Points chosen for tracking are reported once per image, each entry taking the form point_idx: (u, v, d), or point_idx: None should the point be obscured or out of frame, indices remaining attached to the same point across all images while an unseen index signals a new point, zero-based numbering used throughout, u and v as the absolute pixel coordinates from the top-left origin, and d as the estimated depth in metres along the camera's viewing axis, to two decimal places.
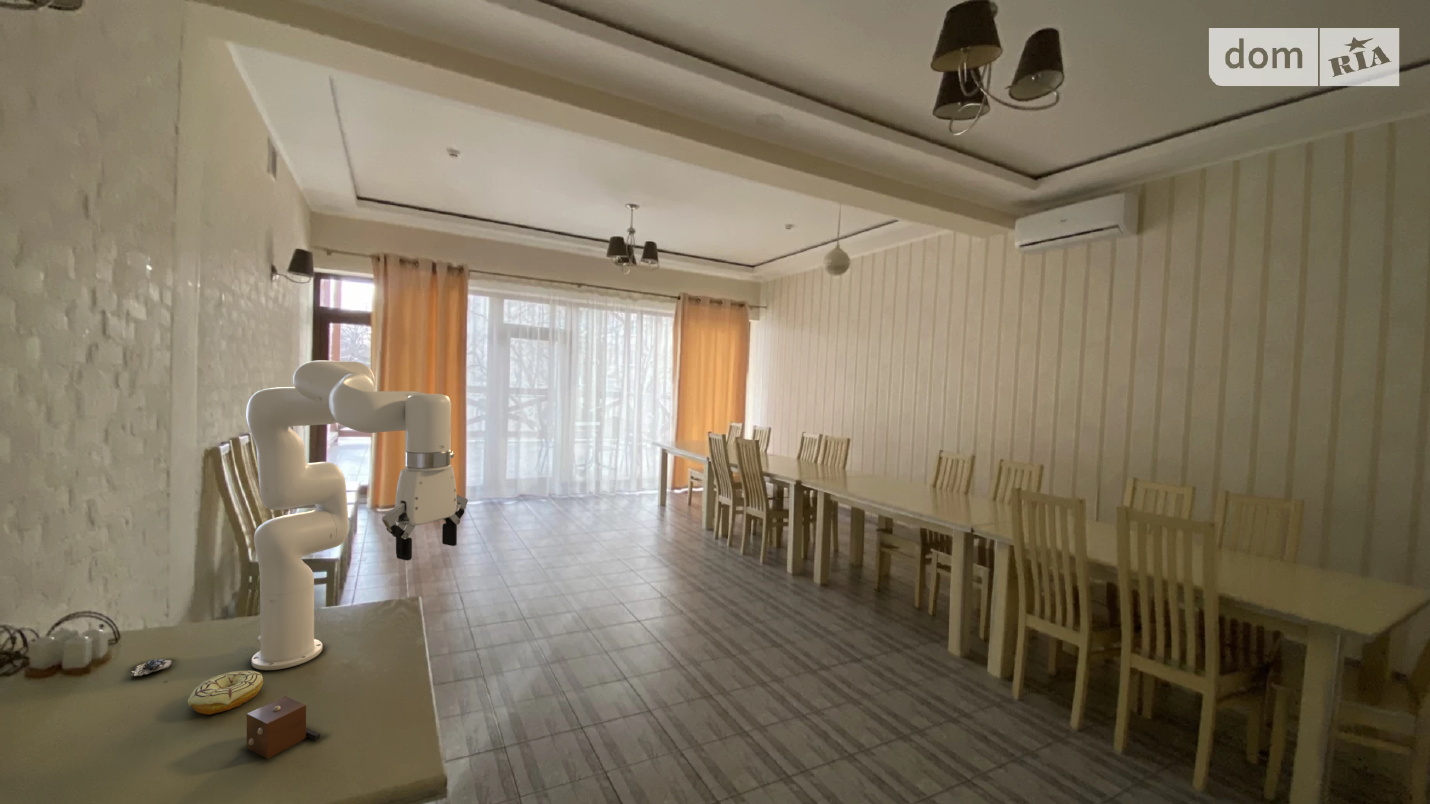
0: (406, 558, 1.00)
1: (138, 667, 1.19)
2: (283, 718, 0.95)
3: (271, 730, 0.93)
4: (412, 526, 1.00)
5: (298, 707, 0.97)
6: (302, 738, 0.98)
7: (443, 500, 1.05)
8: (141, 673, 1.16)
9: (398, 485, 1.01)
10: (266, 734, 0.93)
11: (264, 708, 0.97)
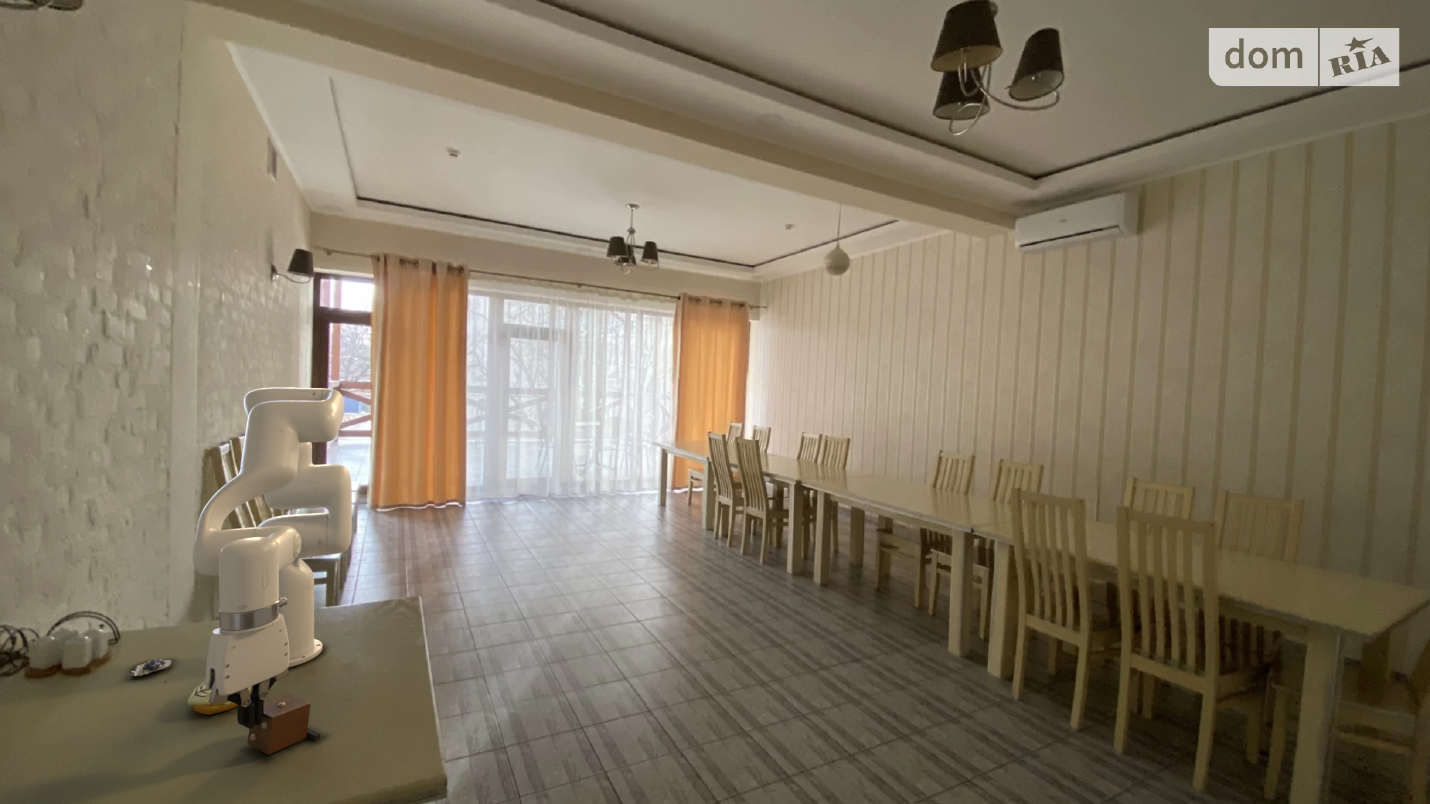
0: (248, 726, 0.92)
1: (138, 667, 1.19)
2: (288, 714, 0.95)
3: (275, 725, 0.94)
4: (245, 692, 0.91)
5: (303, 704, 0.98)
6: (303, 737, 0.98)
7: (268, 659, 0.93)
8: (141, 673, 1.16)
9: (209, 649, 0.89)
10: (270, 729, 0.93)
11: (269, 704, 0.97)
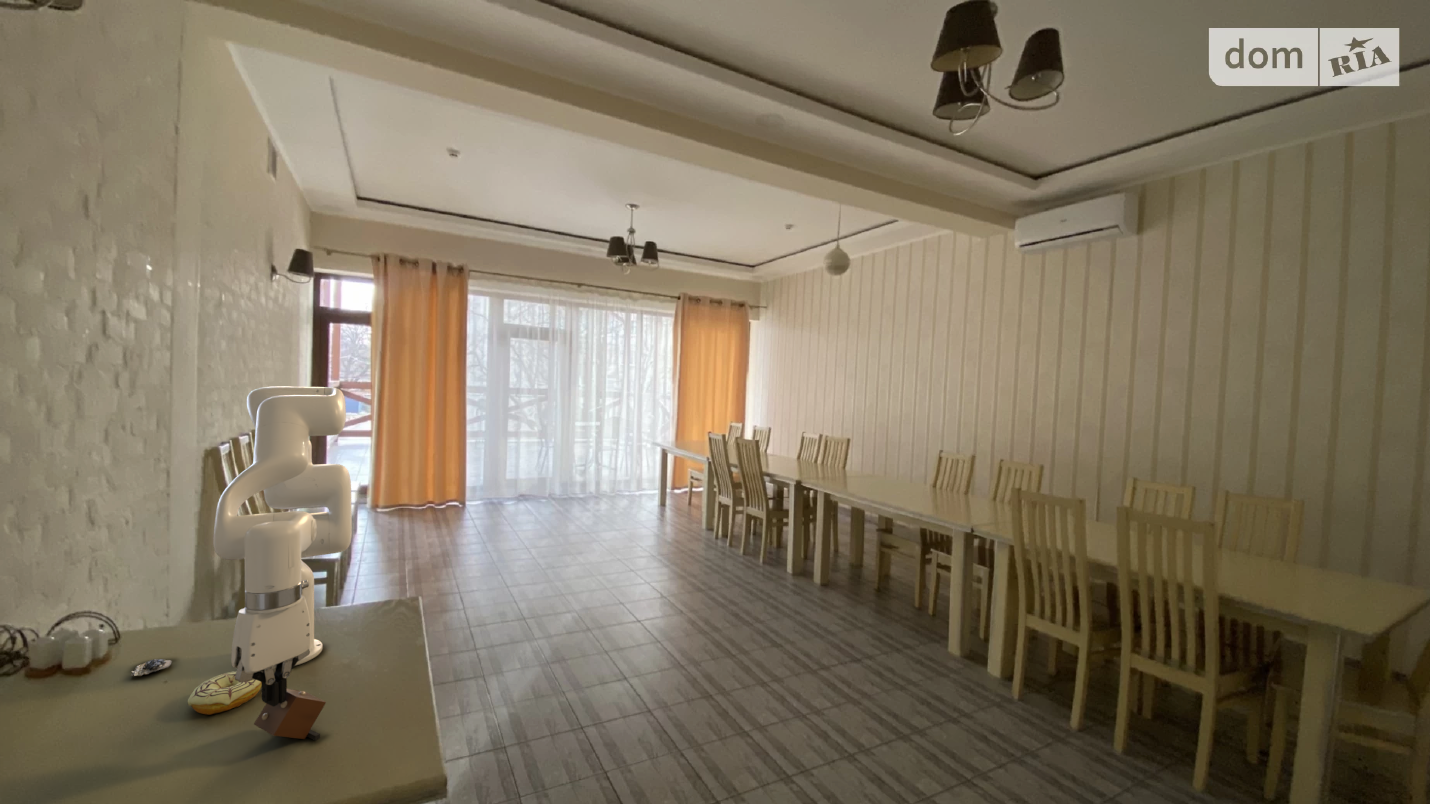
0: (272, 704, 0.95)
1: (138, 667, 1.19)
2: (307, 701, 0.98)
3: (294, 706, 0.96)
4: (269, 670, 0.94)
5: (320, 700, 1.00)
6: (303, 736, 0.98)
7: (291, 639, 0.96)
8: (141, 673, 1.16)
9: (235, 628, 0.92)
10: (289, 708, 0.95)
11: (291, 690, 1.00)
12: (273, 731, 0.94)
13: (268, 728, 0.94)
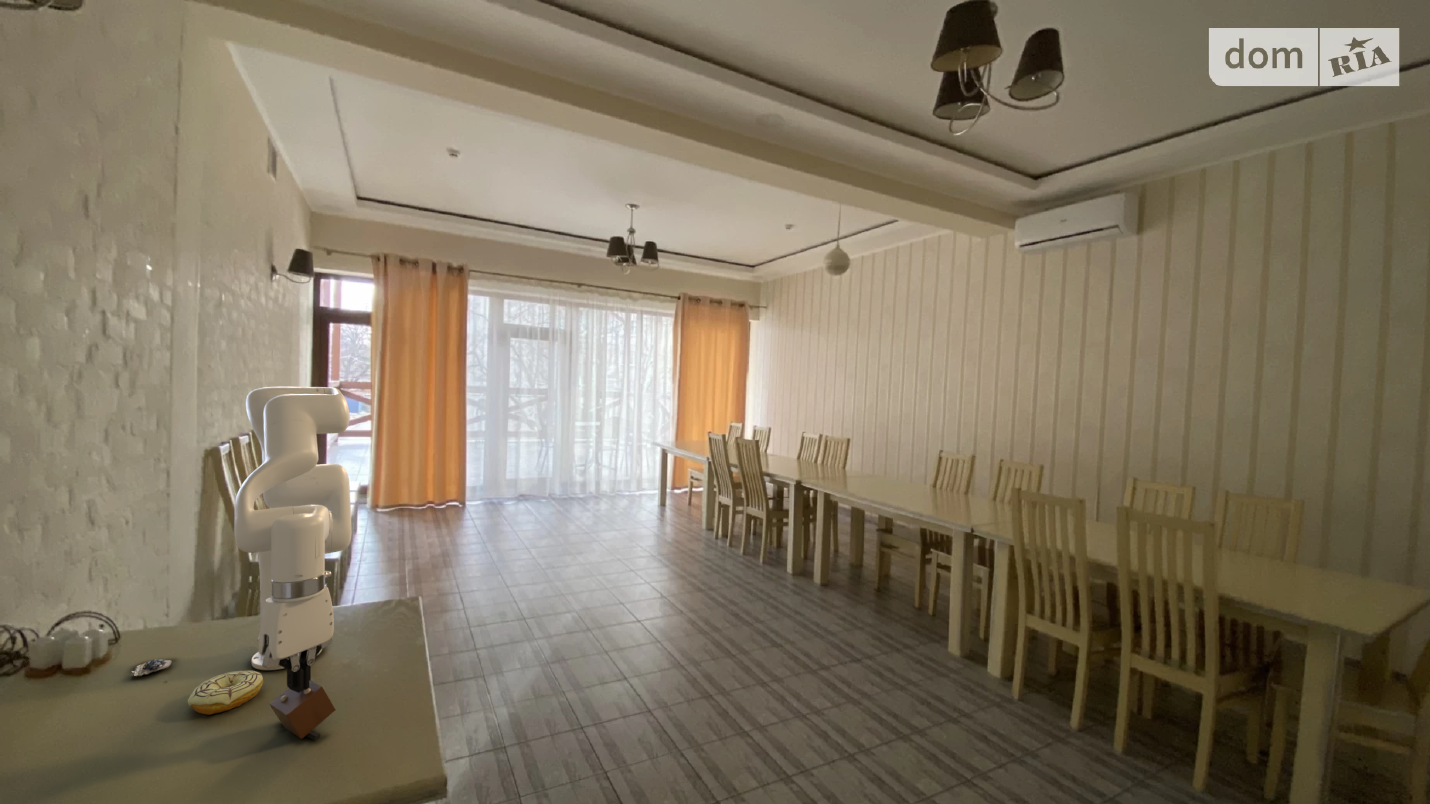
0: (297, 690, 0.98)
1: (138, 667, 1.19)
2: (325, 697, 1.00)
3: (315, 695, 0.99)
4: (295, 657, 0.97)
5: None
6: (302, 735, 0.98)
7: (315, 627, 0.99)
8: (141, 673, 1.16)
9: (262, 616, 0.95)
10: (311, 695, 0.98)
11: None
12: (288, 712, 0.96)
13: (283, 709, 0.96)
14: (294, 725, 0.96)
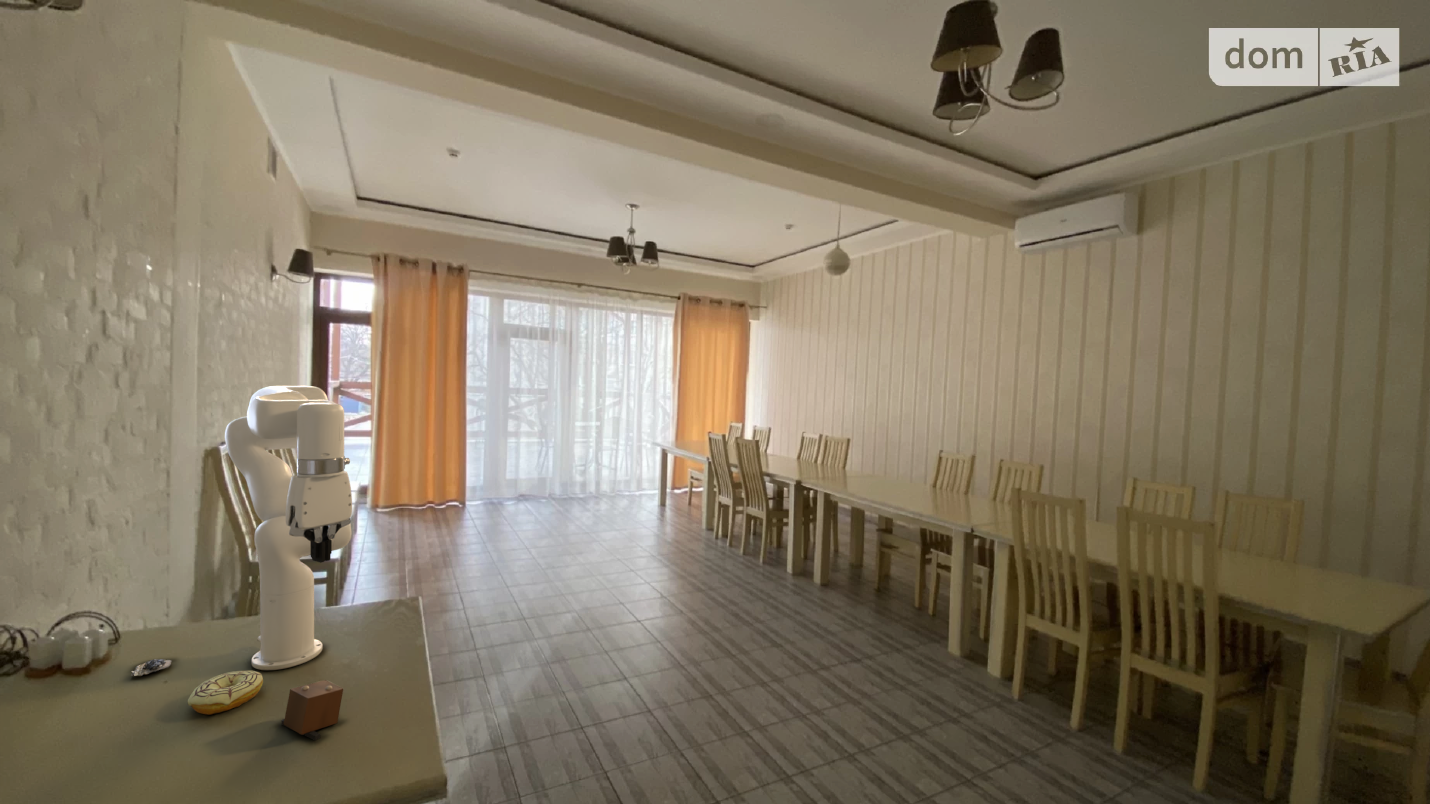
0: (320, 560, 1.09)
1: (138, 667, 1.19)
2: (338, 702, 1.03)
3: (334, 694, 1.02)
4: (318, 530, 1.08)
5: None
6: (304, 730, 0.98)
7: (336, 505, 1.10)
8: (141, 673, 1.16)
9: (288, 490, 1.05)
10: (332, 691, 1.02)
11: None
12: (309, 696, 0.99)
13: (304, 694, 0.99)
14: (305, 714, 0.98)
